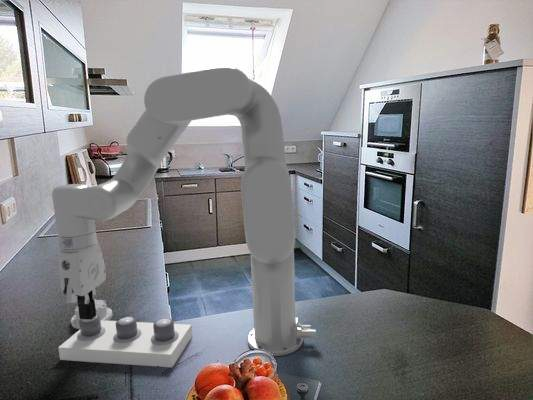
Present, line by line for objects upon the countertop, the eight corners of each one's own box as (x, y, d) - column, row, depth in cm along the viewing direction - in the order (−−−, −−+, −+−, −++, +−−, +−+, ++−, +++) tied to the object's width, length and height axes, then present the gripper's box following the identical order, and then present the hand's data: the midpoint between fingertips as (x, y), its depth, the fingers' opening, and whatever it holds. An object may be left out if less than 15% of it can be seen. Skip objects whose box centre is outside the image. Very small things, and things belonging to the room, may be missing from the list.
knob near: (177, 331, 87) (176, 317, 86) (170, 341, 83) (168, 327, 82) (159, 330, 88) (158, 317, 87) (151, 340, 84) (149, 326, 83)
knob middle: (141, 329, 89) (139, 316, 88) (131, 339, 84) (129, 326, 84) (123, 328, 89) (121, 315, 89) (113, 338, 85) (111, 325, 84)
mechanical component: (120, 317, 102) (100, 308, 108) (118, 302, 101) (98, 293, 107) (83, 334, 94) (64, 323, 101) (81, 318, 94) (62, 307, 100)
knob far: (105, 326, 90) (103, 313, 89) (94, 336, 86) (92, 322, 85) (88, 325, 91) (86, 312, 90) (76, 335, 86) (74, 321, 86)
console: (192, 336, 91) (191, 323, 91) (172, 367, 80) (170, 353, 79) (93, 330, 95) (91, 319, 95) (60, 359, 84) (58, 346, 83)
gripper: (71, 252, 76) (82, 336, 80) (112, 231, 91) (120, 303, 94) (37, 251, 77) (50, 334, 81) (83, 231, 92) (92, 301, 95)
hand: (88, 317), depth 88 cm, fingers closed
